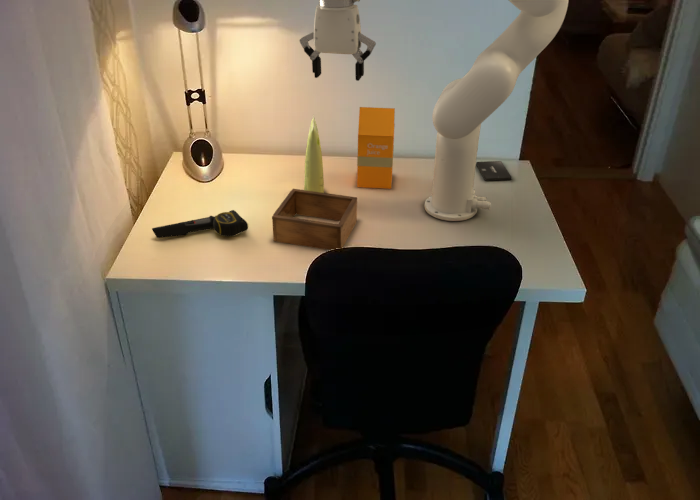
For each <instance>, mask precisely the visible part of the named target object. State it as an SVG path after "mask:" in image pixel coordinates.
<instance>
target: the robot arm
mask: <svg viewBox="0 0 700 500" xmlns="http://www.w3.org/2000/svg"><path fill="white" fill-rule="evenodd" d="M360 1H361V0H318V4H317V5H316V7H315V11H314V12H315V13H314V21H313V31H312V32H309V33H308V34H307V35H304V36H302V37H301V38H300V39H299V43H300V45H301V47H302V48H303V51H304V53H305V54H306V55H307V57H309V59H310V60H311V69H312V70H311V71H312V74H314V78H315V79H318V78H320V76H321V75H322V58H321V56H320V54H321V53H322V54H335V55H352V57H353V58H354V59H355V61H356V62H355V66H354V69H355V71H354V72H355V73H354V74H355V75H354V76H355V81H357V82H359V81H360V80H361V78H362V77H364V74H365V61H366V59H368V58H369V56H370V55H371V54H372V52H373V51H374V49H375V47H376V45H377V43H376V41H375V40H373V39H371V38H370V37H368V36H367V35H364V34H363V33H362V25H361V18H360V12H359V6H358V5H357V4H355V3H357V2H358V3H359V2H360ZM508 1H509V3H511V4H512V5H513V6H514V7H515V8H516V9H518V10H519V11H520V12H519V14H518V15H517V16H516V17H515V19H513V21H512V22H511V23H510V24H509V25H508V26H507V27H506V29H505V30H504V31H503V32H502V33H500V35H498V37H497V38H496V39H494V41H493V42H492V43H490V44H489V45H488V46H487V47H486V48H485V49H484V50H483V51H481V52H480V53H479V54H478V55H477V57H476V59H475V61H474V62H473V64H472V67H471V68H470V69H469V70H468V71H467V72H466V73H465V75H463V77H461V78H456V79H454V80H452V81H450V82H449V83H447V85H446V86H445V87H444V88H443V90H442V92H440V95H439V97H438V100H437V101H436V103H435V104H434V107H433V110H432V115H431V116H432V125H433V127H434V129H435V130H436V131H437V132H436V139H435V141H436V142H435V154H434V165H433V177H432V189H431V195H430V196H428V197H427V198H426V199H425V200H424V210H425V211H426V213H427V214H428V215H430V216H431V217H433V218H436V219H437V220H442V221H448V222H459V221H460V222H461V221H466V220H469V219H471V218H473V217H474V216H475V215H476V214H477V212H478V209H482V210H487V211H490V208H491V204H492V203H491V201H487V197H486V196H478V195H476V194H475V191H476V189H474V185H475V184H474V183H475V175H476V167H477V165H476V162H477V157H478V150H479V141H480V136H481V135H480V134H481V127H482V123H484V122H485V121H486V120H487V119H488V118H489V117H490V116H491V115H492V114H493V113H494V112H495V111H497V109H499V107H501V106H502V105H503V104H504V102H506V100H507V99H508V98H509V97H510V96H511V94H512V93H513V91H514V89H515V87H516V84H517V81H518V78H519V76H520V75H521V73H522V72H523V71H524V70H525V69H526V68H528V66H529V65H530V64H531V63H532V62H533V61H534V60H535V59H536V58H537V57H538V56H539V55H540V54H541V52H542V51H544V49H546V48H547V46H548V45H549V44H550V43H551V42H552V41H553V39H554V38H555V37H556V35H557V34H558V32H559V31H560V29H561V28H562V25H563V23H564V20H565V18H566V14H567V11H568V7H569V0H508ZM312 40H313V48H314V49H313V48H312V47H311V45H310V43H309V42H310V41H312ZM362 44H364V45H365V46H367V48H366V50H365V51H364V52H363V50H361V48H362Z"/></svg>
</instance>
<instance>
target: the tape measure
mask: <svg viewBox="0 0 700 500" xmlns="http://www.w3.org/2000/svg"><path fill="white" fill-rule="evenodd" d="M214 217H215V218H214V220H213V226H214V229H213V230H214V232H216V233H217V234H218V235H220V236H222V237H235V236H237V235H239V234H241V233H244V232H245V231H247V230H248V229H249V223H248V222H247V221H246V220H245V218H243V217H242V216H241V215H240V214H239V213H238V212H237V211H236V210H234V209H232V210H229V211H223V212H220V213H217V215H215V216H214Z"/></svg>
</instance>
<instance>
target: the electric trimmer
mask: <svg viewBox="0 0 700 500" xmlns="http://www.w3.org/2000/svg"><path fill="white" fill-rule="evenodd" d="M214 218H215V216H213V215H209V216H207V217H202V218H197V219H191V220H187V221H181V222H177V223H172V224H167V225H161V226H156V227H152V228H151V231H152V232H153V234H154V236H155V237H156V238H157V239H162V238H174V237H175V238H176V237H182V236H183V237H185V236H187V235H188V234H190V233H191V234H192V233H197V232H202V231H209V230H214V226H213V220H214Z"/></svg>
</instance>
